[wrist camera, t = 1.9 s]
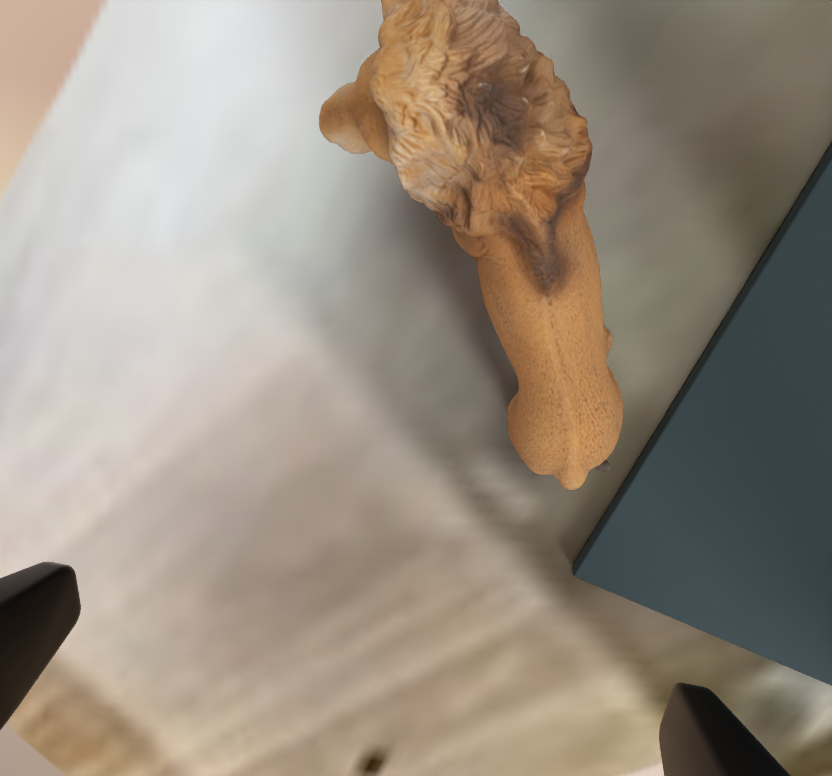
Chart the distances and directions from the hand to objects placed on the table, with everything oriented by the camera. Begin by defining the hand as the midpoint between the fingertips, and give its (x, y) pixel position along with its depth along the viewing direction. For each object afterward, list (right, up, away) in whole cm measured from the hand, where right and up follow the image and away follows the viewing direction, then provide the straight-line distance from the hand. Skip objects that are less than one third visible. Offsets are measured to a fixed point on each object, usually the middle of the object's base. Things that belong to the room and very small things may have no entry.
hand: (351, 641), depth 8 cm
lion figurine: (+4, +8, +11) cm, 14 cm away
